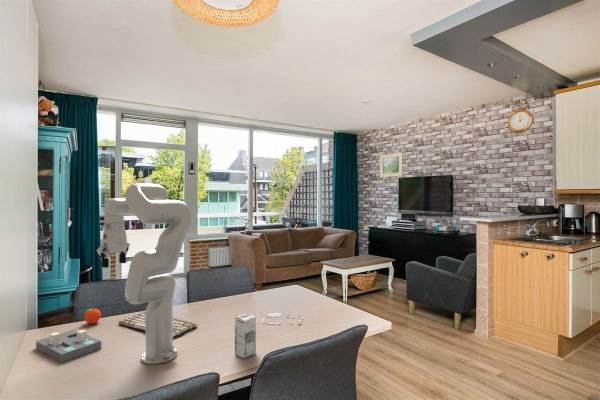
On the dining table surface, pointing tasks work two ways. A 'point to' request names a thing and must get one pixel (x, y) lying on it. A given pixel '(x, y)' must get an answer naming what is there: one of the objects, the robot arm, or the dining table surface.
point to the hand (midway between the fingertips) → (114, 265)
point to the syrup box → (245, 335)
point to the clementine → (92, 316)
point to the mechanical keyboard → (139, 325)
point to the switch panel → (68, 346)
